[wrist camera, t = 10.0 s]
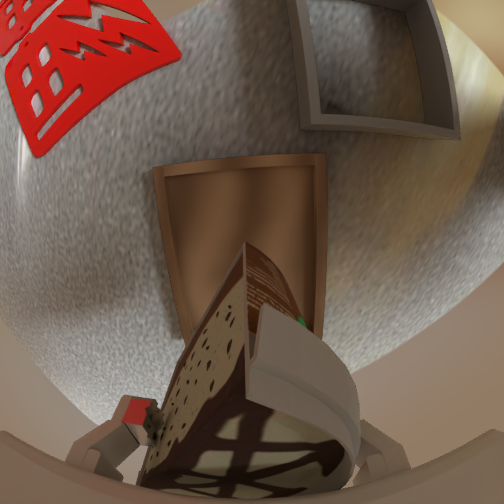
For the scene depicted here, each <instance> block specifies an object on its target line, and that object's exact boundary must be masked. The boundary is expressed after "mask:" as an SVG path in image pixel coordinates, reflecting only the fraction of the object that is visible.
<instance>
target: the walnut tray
mask: <svg viewBox="0 0 504 504" xmlns="http://www.w3.org/2000/svg"><path fill="white" fill-rule="evenodd" d="M153 175H154V183H155V192H156V199H157V207H158V214H159V221H160V227H161V233H162V239H163V245H164V251H165V257H166V262H167V267H168V272H169V277H170V282H171V287H172V292H173V296H174V301H175V305H176V310H177V314H178V318H179V322H180V327H181V331H182V335H183V339H184V342H185V346H186V345H187V343H188V342H189V340H190V338H191V336H192V334H193V333H194V331H195V329H196V327H197V325H198V324H199V322H200V320H201V318H202V316H203V315H204V313H205V311H206V309H207V307H208V306H209V304H210V302H211V300H212V299H213V297H214V295H215V293H216V291H217V290H218V288H219V286H220V284H221V283H222V281H223V279H224V277H225V276H226V274H227V272H228V270H229V268H230V267H231V265H232V263H233V261H234V260H235V258H236V256H237V254H238V253H239V251H240V249H241V247H242V246H243V244H244V242H245V241H246V242H248V243H249V244H251V245H252V246H254V247H256V248H257V249H259V250H260V251H262V252H263V253H264V254H265V255H266V256H267V257H269V258H270V259H271V260H272V261H273V263H274V264H275V265H276V266H277V267H278V268H279V270H280V271H281V273H282V274H283V276H284V277H285V279H286V281H287V283H288V285H289V287H290V290H291V292H292V294H293V297H294V299H295V301H296V304H297V306H298V308H299V311H300V313H301V316H302V318H303V320H304V323H305V325H306V327H307V329H308V330H309V331H310V332H312V333H313V334H314V335H316V336H317V337H318V338H319V339H321V340H322V335H323V323H324V309H325V293H326V271H327V167H326V153H309V154H276V155H258V156H243V157H231V158H220V159H211V160H202V161H193V162H186V163H178V164H171V165H164V166H158V167H153Z"/></svg>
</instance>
